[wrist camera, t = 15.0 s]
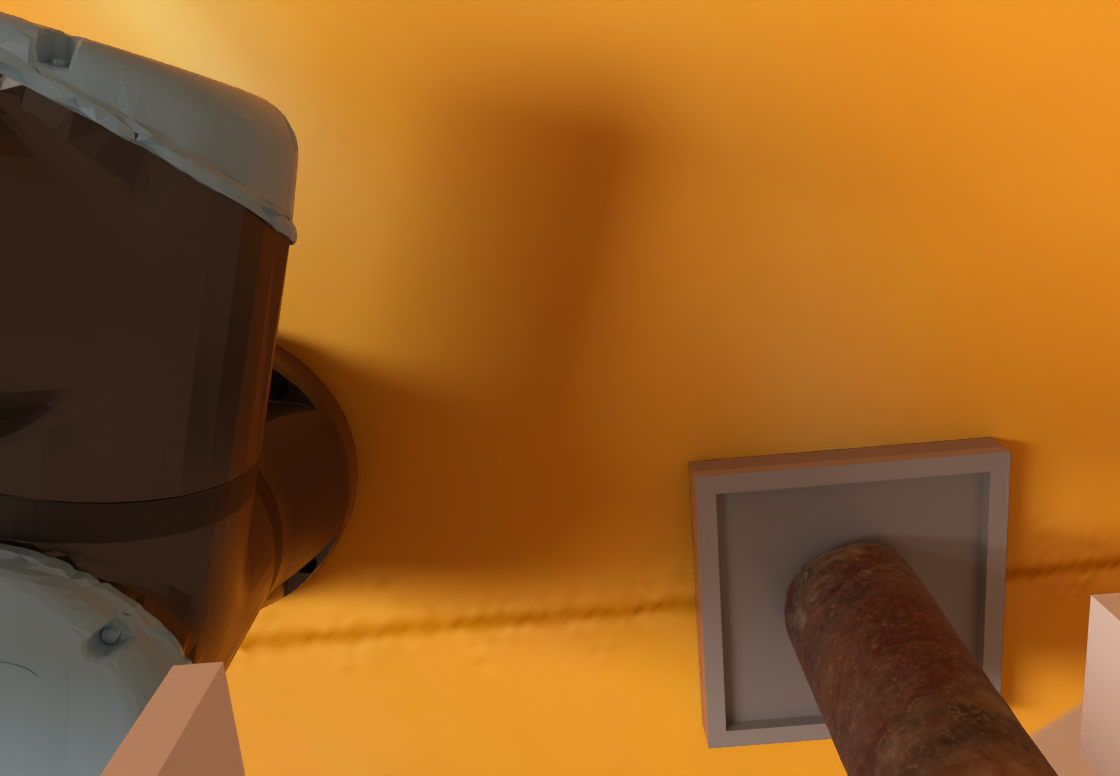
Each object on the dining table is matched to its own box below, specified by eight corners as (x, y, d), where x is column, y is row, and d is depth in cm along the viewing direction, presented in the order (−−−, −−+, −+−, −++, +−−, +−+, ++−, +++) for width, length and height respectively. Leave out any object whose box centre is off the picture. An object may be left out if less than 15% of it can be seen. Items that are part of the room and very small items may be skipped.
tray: (702, 723, 58) (708, 748, 55) (689, 461, 53) (695, 477, 51) (981, 701, 57) (999, 725, 55) (991, 437, 53) (1010, 451, 51)
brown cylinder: (791, 674, 55) (921, 981, 36) (758, 558, 53) (879, 816, 34) (927, 637, 55) (1135, 928, 35) (900, 517, 53) (1103, 757, 33)
